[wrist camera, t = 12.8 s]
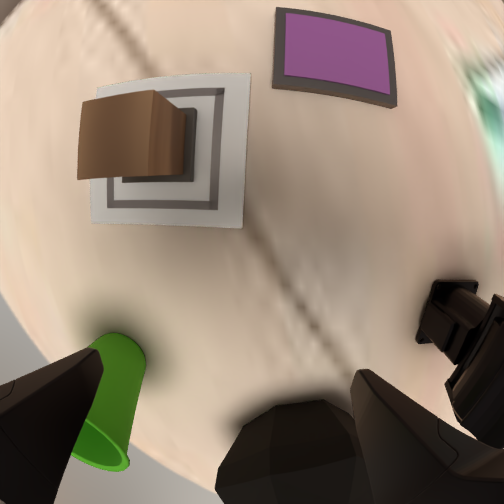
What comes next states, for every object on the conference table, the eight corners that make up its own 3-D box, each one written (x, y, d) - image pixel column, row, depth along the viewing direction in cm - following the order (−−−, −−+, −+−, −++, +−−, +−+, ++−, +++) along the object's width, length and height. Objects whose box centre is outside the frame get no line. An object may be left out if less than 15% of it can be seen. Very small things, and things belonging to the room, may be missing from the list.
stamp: (197, 110, 16) (165, 78, 10) (193, 181, 18) (158, 187, 11) (131, 115, 16) (76, 95, 10) (128, 182, 18) (70, 190, 11)
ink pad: (385, 35, 14) (391, 29, 13) (391, 108, 16) (398, 105, 15) (275, 13, 14) (276, 5, 13) (272, 88, 16) (273, 83, 15)
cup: (80, 300, 21) (6, 368, 10) (169, 330, 21) (121, 431, 11) (88, 370, 23) (41, 439, 13) (164, 397, 24) (134, 483, 13)
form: (250, 74, 16) (250, 72, 15) (242, 227, 19) (242, 228, 18) (99, 88, 16) (96, 87, 15) (93, 222, 19) (90, 223, 18)
